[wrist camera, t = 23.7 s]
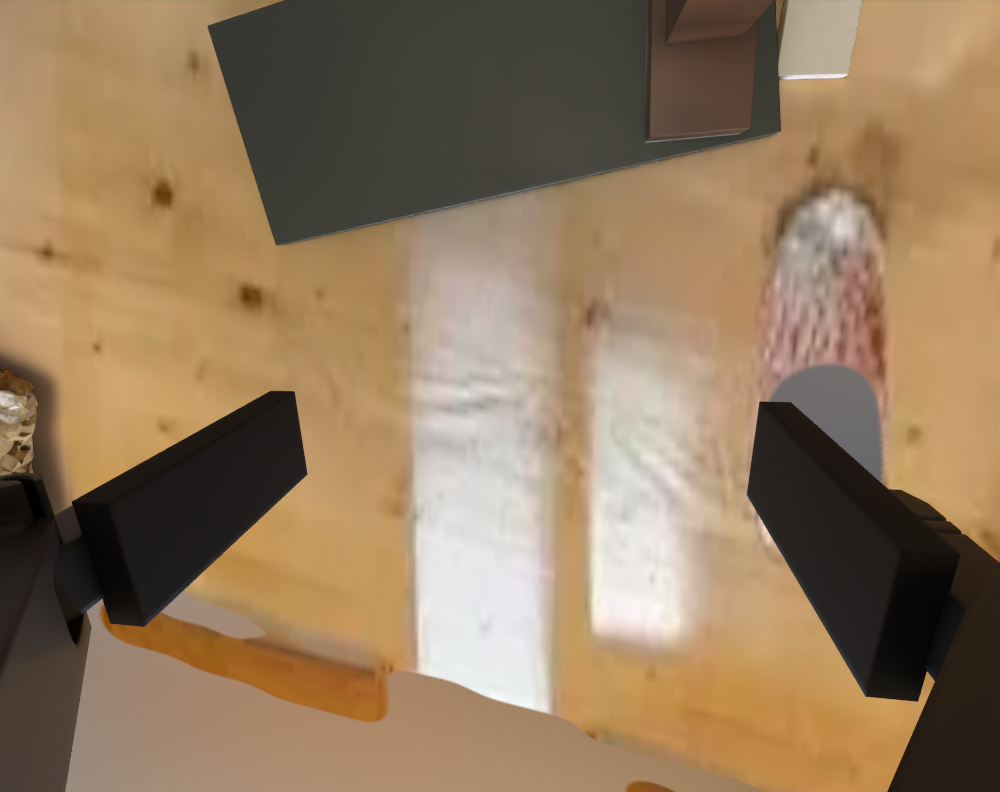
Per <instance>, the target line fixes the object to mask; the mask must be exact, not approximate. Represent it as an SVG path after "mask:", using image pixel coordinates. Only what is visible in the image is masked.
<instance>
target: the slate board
mask: <svg viewBox="0 0 1000 792" xmlns="http://www.w3.org/2000/svg"><path fill="white" fill-rule="evenodd" d="M646 27H647V0H285V1H282V2H279V3H276V4H273V5H270V6H267V7H264V8H261V9H258V10H254V11H251V12H248V13H245V14H242V15H239V16H236V17H233V18H230V19H227V20H224V21H221V22H218V23H215V24H212V25H209V26H208V29H209V32H210V36H211V39H212V42H213V45H214V48H215V52H216V55H217V58H218V61H219V64H220V68H221V71H222V74H223V77H224V80H225V84H226V87H227V90H228V93H229V96H230V100H231V103H232V106H233V109H234V112H235V116H236V119H237V122H238V125H239V128H240V132H241V135H242V138H243V141H244V144H245V148H246V151H247V154H248V157H249V160H250V164H251V167H252V170H253V173H254V176H255V180H256V183H257V186H258V189H259V192H260V196H261V199H262V202H263V205H264V208H265V212H266V215H267V218H268V221H269V224H270V228H271V231H272V234H273V237H274V240H275V244H276V245H277V246H278V245H288V244H292V243H297V242H301V241H305V240H310V239H314V238H319V237H323V236H328V235H332V234H336V233H341V232H345V231H350V230H354V229H359V228H363V227H367V226H372V225H376V224H381V223H385V222H390V221H394V220H399V219H403V218H407V217H412V216H416V215H421V214H425V213H430V212H434V211H438V210H443V209H447V208H452V207H456V206H461V205H465V204H469V203H474V202H478V201H483V200H487V199H492V198H496V197H501V196H505V195H509V194H514V193H518V192H523V191H527V190H532V189H536V188H540V187H545V186H549V185H554V184H558V183H563V182H567V181H571V180H576V179H580V178H585V177H589V176H594V175H598V174H603V173H607V172H611V171H616V170H620V169H625V168H629V167H634V166H638V165H642V164H647V163H651V162H656V161H660V160H665V159H669V158H673V157H678V156H682V155H687V154H691V153H696V152H700V151H705V150H709V149H713V148H718V147H722V146H727V145H731V144H736V143H740V142H744V141H749V140H753V139H758V138H762V137H767V136H771V135H774V134H776V133H779V132H780V131H781V120H780V96H779V73H778V49H777V26H776V2H775V0H774V1H773V2H772V3H771V4H770V5H769V6H768V7H767V8H766V10H765V11H764V12H763V13H762V14H761V15H760V16H759V21H758V35H757V49H756V63H755V77H754V91H753V105H752V119H751V128H749V129H747V130H745V131H744V132H742V133H740V134H737V135H726V136H715V137H704V138H693V139H683V140H672V141H661V142H650V143H645V91H646Z"/></svg>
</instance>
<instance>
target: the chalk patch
mask: <svg viewBox="0 0 1000 792" xmlns="http://www.w3.org/2000/svg"><path fill="white" fill-rule="evenodd" d="M862 2H863V0H785V2H784V5H783V11H782V18H781V24H780V31H779V37H778V44H777V49H778V73H779V79H823V78H843V77H845V76H847V75H848V74H849V69H850V64H851V58H852V53H853V48H854V43H855V38H856V33H857V28H858V23H859V18H860V12H861V7H862Z"/></svg>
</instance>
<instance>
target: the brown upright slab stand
mask: <svg viewBox="0 0 1000 792" xmlns="http://www.w3.org/2000/svg"><path fill="white" fill-rule="evenodd" d="M773 1H774V0H647V27H646V91H645V143H650V142H661V141H672V140H683V139H693V138H704V137H715V136H726V135H737V134H740V133H742V132H744V131H745V130H747V129H749V128H751V119H752V105H753V91H754V77H755V63H756V49H757V35H758V21H759V16H760V15H761V14H762V13H763V12H764V11H765V10H766V8H767V7H768V6H769V5H770V4H771V3H772V2H773Z"/></svg>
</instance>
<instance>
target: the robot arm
mask: <svg viewBox="0 0 1000 792" xmlns="http://www.w3.org/2000/svg"><path fill="white" fill-rule="evenodd" d="M306 475H307V469H306V462H305V456H304V449H303V443H302V437H301V430H300V424H299V418H298V411H297V405H296V398H295V392H294V391H270V392H268V393H266V394H264V395H262V396H261V397H259V398H257V399H255V400H254V401H252V402H250V403H248V404H246V405H245V406H243V407H241V408H239V409H237V410H236V411H234V412H232V413H230V414H228V415H227V416H225V417H223V418H221V419H219V420H218V421H216V422H214V423H212V424H210V425H209V426H207V427H205V428H203V429H201V430H200V431H198V432H196V433H194V434H192V435H191V436H189V437H187V438H185V439H184V440H182V441H180V442H178V443H176V444H175V445H173V446H171V447H169V448H167V449H166V450H164V451H162V452H160V453H158V454H157V455H155V456H153V457H151V458H149V459H148V460H146V461H144V462H142V463H140V464H139V465H137V466H135V467H133V468H131V469H130V470H128V471H126V472H124V473H122V474H121V475H119V476H117V477H115V478H114V479H112V480H110V481H108V482H106V483H105V484H103V485H101V486H99V487H97V488H96V489H94V490H92V491H90V492H88V493H87V494H85V495H83V496H81V497H79V498H78V499H76V500H74V501H72V504H73V505H72V506H70V507H68V508H67V509H65V510H63V511H61V512H60V513H58V514H56V515H54V513H53V510H52V507H51V504H50V501H49V498H48V495H47V492H46V489H45V486H44V483H43V480H42V477H41V475H39V474H36V473H16V474H9V475H3V476H0V792H65V789H66V783H67V776H68V770H69V764H70V758H71V752H72V745H73V739H74V733H75V727H76V720H77V713H78V707H79V701H80V695H81V689H82V683H83V676H84V670H85V664H86V658H87V652H88V646H89V639H90V633H91V625H90V621H89V618H88V615H87V612H86V611H87V610H88V609H90V608H91V607H92V606H93V605H94V604H96V603H97V602H98V601H99V600H101V599H102V598H103V602H104V605H105V608H106V611H107V614H108V617H109V620H110V623H111V624H121V625H132V626H142V627H145V626H146V625H147V624H148V623H149V622H150V621H151V620H152V619H153V618H154V617H155V616H156V615H158V614H159V613H160V612H161V611H162V610H163V609H164V608H165V607H166V606H167V605H168V604H169V603H170V602H171V601H173V599H175V598H176V597H177V596H178V595H179V594H180V593H181V592H182V591H183V590H184V589H185V588H186V587H187V586H189V585H190V584H191V583H192V582H193V581H194V580H195V579H196V578H197V577H198V576H199V575H200V574H201V573H202V572H204V571H205V570H206V569H207V568H208V567H209V566H210V565H211V564H212V563H213V562H214V561H215V560H216V559H217V558H219V557H220V556H221V555H222V554H223V553H224V552H225V551H226V550H227V549H228V548H229V547H230V546H231V545H232V544H234V543H235V542H236V541H237V540H238V539H239V538H240V537H241V536H242V535H243V534H244V533H245V532H246V531H247V530H248V529H250V528H251V527H252V526H253V525H254V524H255V523H256V522H257V521H258V520H259V519H260V518H261V517H262V516H263V515H265V514H266V513H267V512H268V511H269V510H270V509H271V508H272V507H273V506H274V505H275V504H276V503H277V502H278V501H280V500H281V499H282V498H283V497H284V496H285V495H286V494H287V493H288V492H289V491H290V490H291V489H292V488H293V487H295V486H296V485H297V484H298V483H299V482H300V481H301V480H302V479H303V478H304V477H305V476H306ZM747 496H748V498H749V499H750V501H751V503H752V504H753V506H754V508H755V510H756V511H757V513H758V515H759V516H760V518H761V520H762V521H763V523H764V525H765V527H766V528H767V530H768V532H769V533H770V535H771V537H772V538H773V540H774V542H775V543H776V545H777V547H778V549H779V550H780V552H781V554H782V555H783V557H784V559H785V560H786V562H787V564H788V566H789V567H790V569H791V571H792V572H793V574H794V576H795V577H796V579H797V581H798V583H799V584H800V586H801V588H802V589H803V591H804V593H805V594H806V596H807V598H808V599H809V601H810V603H811V605H812V606H813V608H814V610H815V611H816V613H817V615H818V616H819V618H820V620H821V622H822V623H823V625H824V627H825V628H826V630H827V632H828V633H829V635H830V637H831V639H832V640H833V642H834V644H835V645H836V647H837V649H838V650H839V652H840V654H841V656H842V657H843V659H844V661H845V662H846V664H847V666H848V667H849V669H850V671H851V672H852V674H853V676H854V678H855V679H856V681H857V683H858V684H859V686H860V688H861V689H862V691H863V693H864V695H865V696H866V697H876V698H886V699H896V700H907V701H917V702H918V700H919V696H920V693H921V689H922V686H923V683H924V679H925V676H926V672H927V671H928V673H929V674H930V675H931V677H932V678H933V679H934V681H935V683H934V685H933V687H932V690H931V692H930V694H929V697H928V699H927V701H926V704H925V706H924V708H923V711H922V713H921V715H920V717H919V720H918V722H917V724H916V727H915V729H914V731H913V734H912V736H911V738H910V741H909V743H908V745H907V748H906V750H905V752H904V755H903V757H902V759H901V761H900V764H899V766H898V768H897V771H896V773H895V775H894V778H893V780H892V782H891V785H890V787H889V789H888V792H1000V563H999V562H998V561H997V560H995V559H994V558H993V557H992V556H991V555H989V554H988V553H987V552H986V551H985V550H983V549H982V548H981V547H980V546H979V545H977V544H976V543H975V542H974V541H972V540H971V539H970V538H969V537H968V536H966V535H964V534H961V531H960V530H959V529H958V528H957V527H956V526H954V525H953V524H952V523H951V522H948V521H946V518H945V517H944V516H942V515H941V514H940V513H939V512H938V511H936V510H935V509H934V508H933V507H932V506H930V505H929V504H928V503H926V502H924V501H922V500H920V499H918V498H916V497H914V496H912V495H910V494H908V493H906V492H904V491H902V490H889V489H887V488H886V487H885V486H884V485H883V484H882V483H881V482H879V481H878V480H877V479H876V478H875V477H874V476H873V475H872V474H870V473H869V472H868V471H867V470H866V469H865V468H864V467H862V466H861V465H860V464H859V463H858V462H857V461H856V460H855V459H854V458H852V457H851V456H850V455H849V454H848V453H847V452H846V451H845V450H843V449H842V448H841V447H840V446H839V445H838V444H837V443H836V442H835V441H833V440H832V439H831V438H830V437H829V436H828V435H827V434H826V433H825V432H823V431H822V430H821V429H820V428H819V427H818V426H817V425H816V424H814V423H813V422H812V421H811V420H810V419H809V418H808V417H807V416H805V415H804V414H803V413H802V412H801V411H800V410H799V409H798V408H797V407H795V406H794V405H793V404H792V403H791V402H759V410H758V417H757V425H756V432H755V439H754V447H753V454H752V461H751V469H750V476H749V483H748V491H747Z"/></svg>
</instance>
